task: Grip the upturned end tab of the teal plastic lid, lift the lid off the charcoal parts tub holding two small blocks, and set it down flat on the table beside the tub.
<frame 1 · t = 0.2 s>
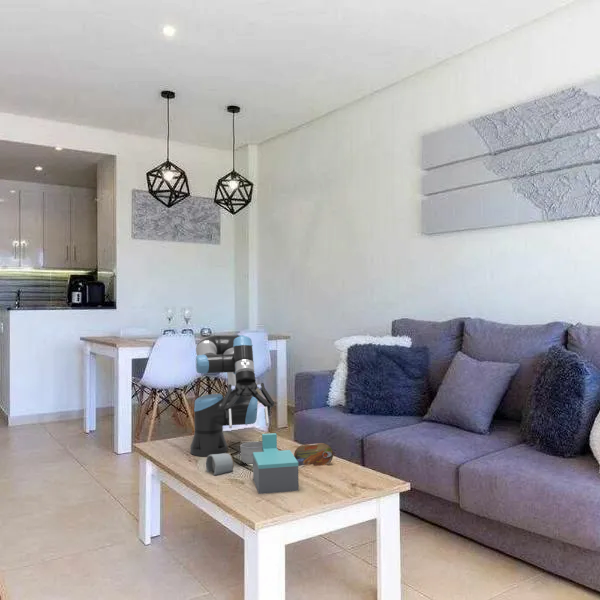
hand: (249, 425, 203), 17 cm above the table, tool tilted 35°, fingers open, 13 cm apart
ceramic mug: (217, 474, 200), on the table
tin: (313, 466, 208), on the table
brass block: (284, 486, 182), point 1 cm above the table, touching tub
tub: (275, 487, 184), on the table
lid: (274, 463, 184), point 8 cm above the table, touching tub
walnut block: (266, 482, 187), point 1 cm above the table, touching tub
teacup: (258, 464, 211), on the table
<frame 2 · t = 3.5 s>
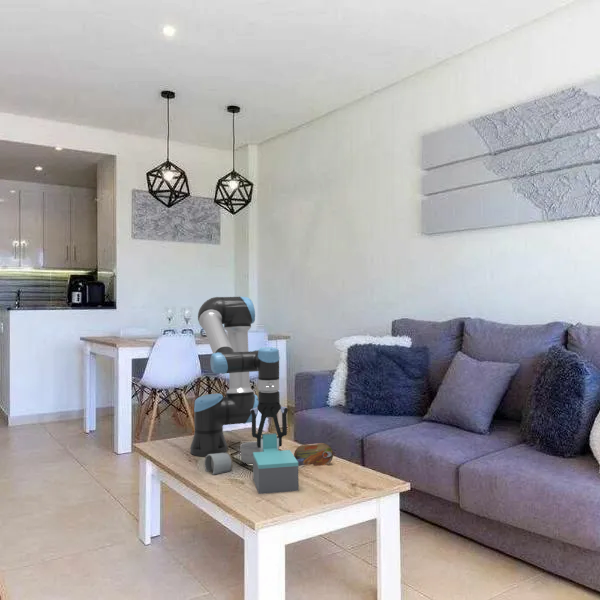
hand: (269, 455, 197), 7 cm above the table, tool pointing down, fingers closed on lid, 5 cm apart
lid: (274, 463, 184), point 8 cm above the table, touching gripper, tub
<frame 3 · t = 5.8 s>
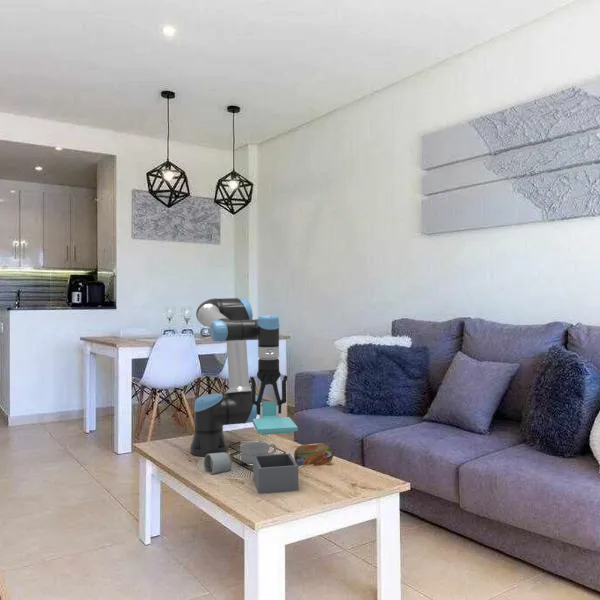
hand: (268, 423, 197), 19 cm above the table, tool pointing down, fingers closed on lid, 5 cm apart
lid: (274, 429, 185), point 19 cm above the table, touching gripper
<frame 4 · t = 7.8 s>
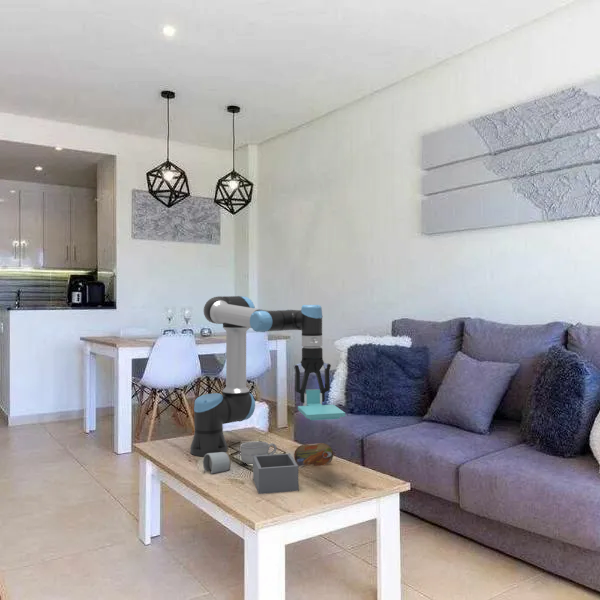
hand: (312, 410, 200), 23 cm above the table, tool pointing down, fingers closed on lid, 5 cm apart
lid: (320, 415, 188), point 23 cm above the table, touching gripper
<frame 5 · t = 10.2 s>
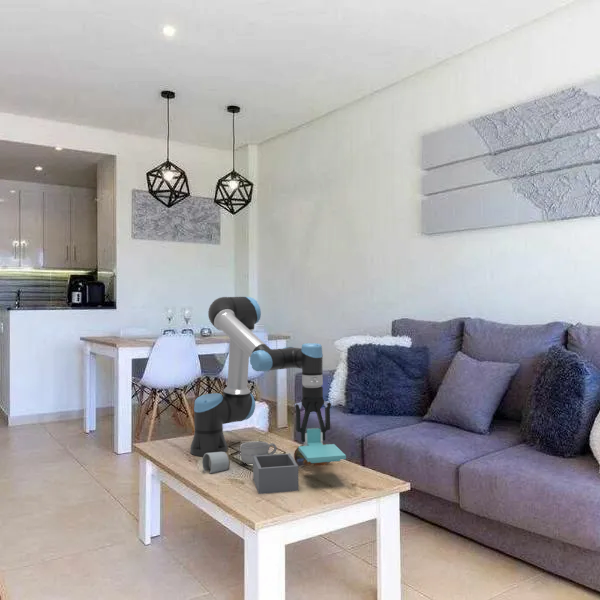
hand: (313, 449, 200), 8 cm above the table, tool pointing down, fingers closed on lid, 5 cm apart
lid: (321, 457, 188), point 9 cm above the table, touching gripper
when the fingers open (2 cm above the table, at t = 12.3 s): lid drops 3 cm, on the table.
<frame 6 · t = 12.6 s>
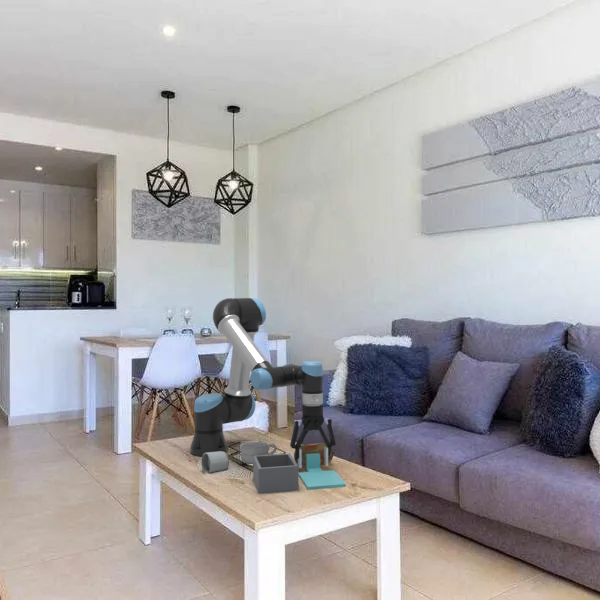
hand: (313, 465, 200), 3 cm above the table, tool pointing down, fingers open, 9 cm apart
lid: (321, 484, 188), on the table
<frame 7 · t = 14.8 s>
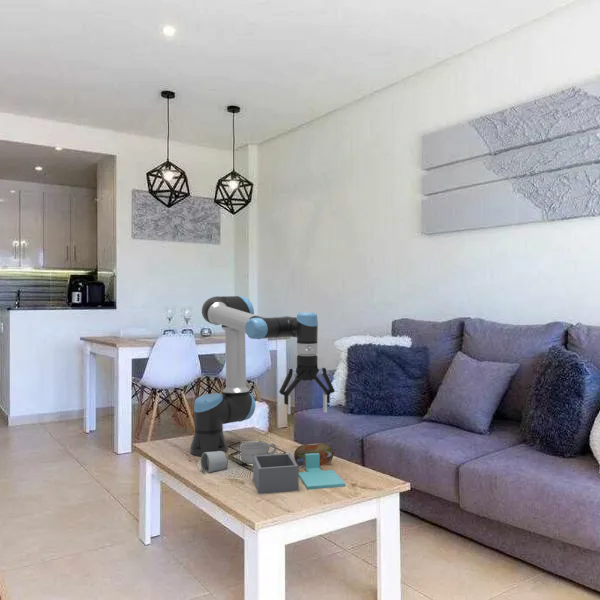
hand: (307, 412, 201), 22 cm above the table, tool pointing down, fingers open, 13 cm apart
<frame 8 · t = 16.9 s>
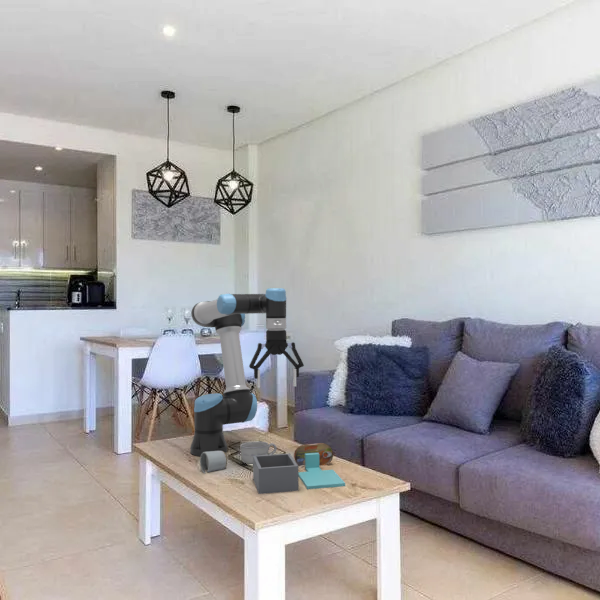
hand: (276, 386, 204), 31 cm above the table, tool pointing down, fingers open, 13 cm apart
at the end: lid inside the target area (0.9 cm from its centre), on the table; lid touching table; the gripper is holding nothing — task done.
